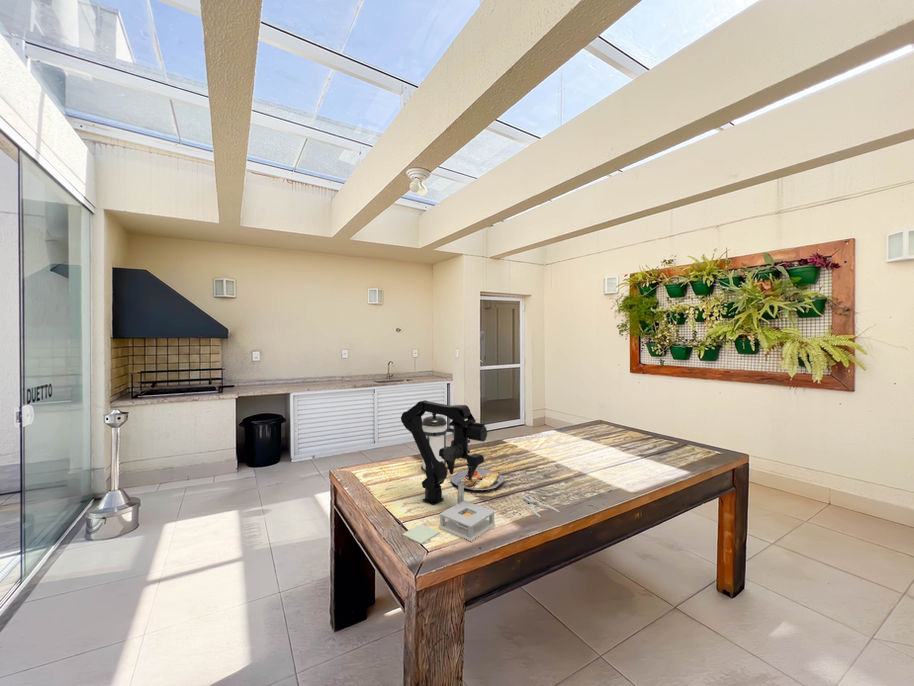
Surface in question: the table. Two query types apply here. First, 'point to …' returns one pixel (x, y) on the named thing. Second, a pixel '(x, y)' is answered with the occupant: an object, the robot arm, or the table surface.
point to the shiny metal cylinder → (460, 491)
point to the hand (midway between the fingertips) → (460, 477)
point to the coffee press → (435, 435)
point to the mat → (421, 533)
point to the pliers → (532, 502)
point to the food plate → (487, 476)
